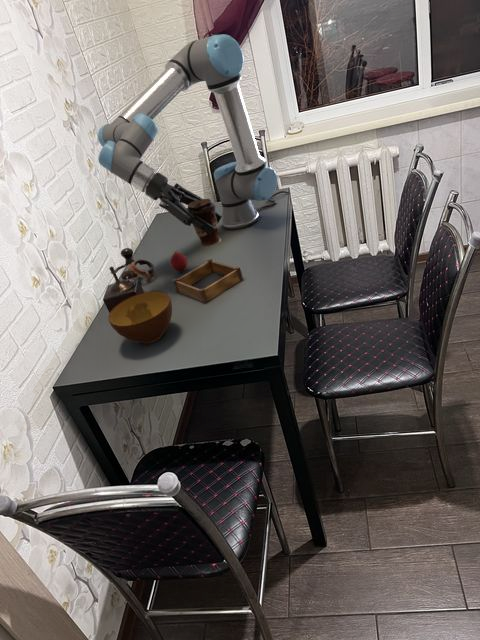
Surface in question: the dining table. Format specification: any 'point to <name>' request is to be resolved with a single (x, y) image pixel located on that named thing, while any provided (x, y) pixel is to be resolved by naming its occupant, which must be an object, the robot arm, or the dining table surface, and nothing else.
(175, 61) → the robot arm
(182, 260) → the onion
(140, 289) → the manual coffee grinder
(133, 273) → the pottery mug
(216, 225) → the coffee cup
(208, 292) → the wooden frame
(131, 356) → the dining table surface
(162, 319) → the bowl
